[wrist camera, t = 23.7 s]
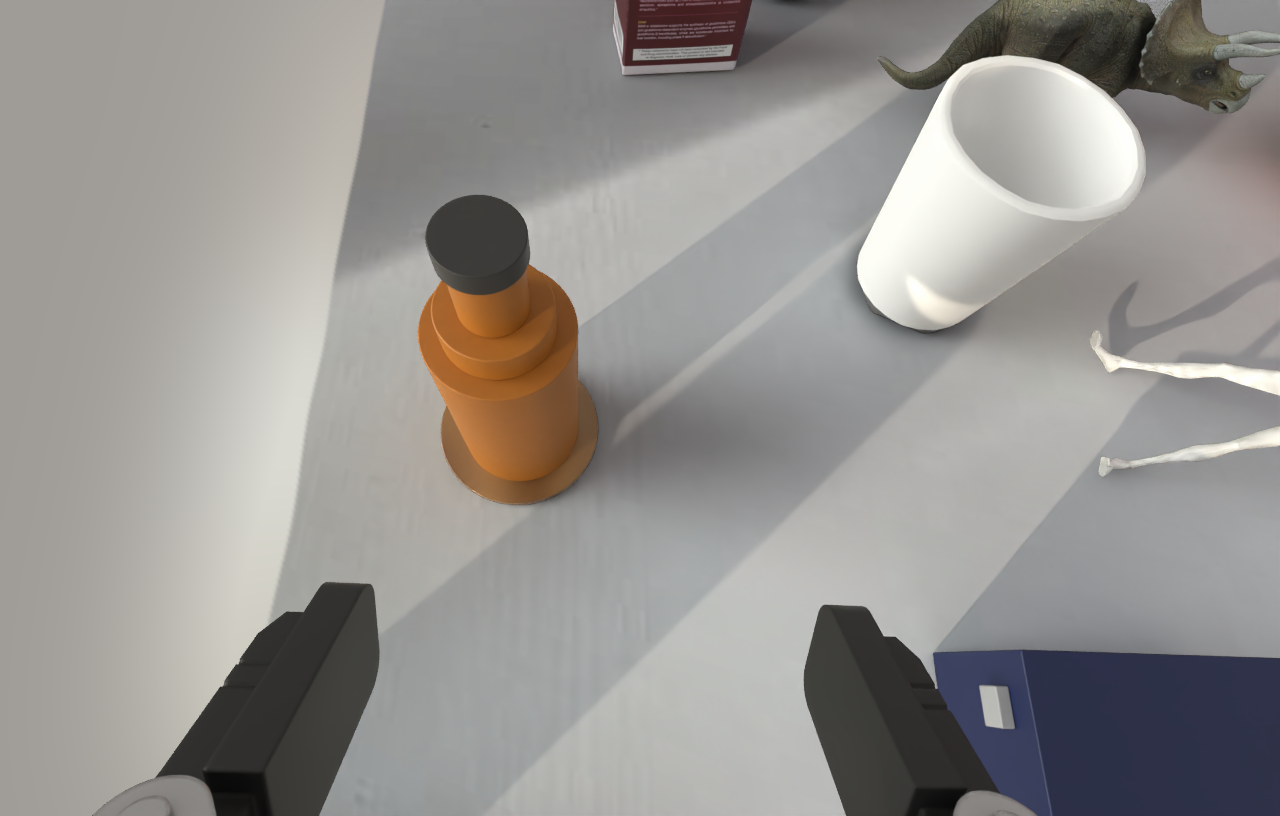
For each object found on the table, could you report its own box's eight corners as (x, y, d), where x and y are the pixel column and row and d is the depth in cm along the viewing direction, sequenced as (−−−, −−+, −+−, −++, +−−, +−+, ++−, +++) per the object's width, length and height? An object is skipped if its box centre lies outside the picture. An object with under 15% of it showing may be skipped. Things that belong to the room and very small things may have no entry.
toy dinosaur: (852, 115, 46) (933, -46, 35) (865, 37, 49) (943, -131, 39) (1148, 195, 46) (1317, 56, 35) (1142, 111, 49) (1295, -38, 38)
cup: (966, 378, 38) (1138, 253, 27) (814, 316, 39) (916, 167, 27) (996, 255, 42) (1158, 98, 30) (857, 200, 43) (963, 25, 31)
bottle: (493, 501, 33) (417, 355, 17) (448, 404, 34) (342, 193, 19) (597, 451, 34) (612, 276, 19) (548, 361, 36) (527, 132, 21)
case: (951, 891, 28) (1061, 958, 22) (920, 652, 32) (1006, 649, 26) (1277, 892, 30) (1472, 955, 23) (1210, 661, 33) (1362, 660, 27)
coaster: (479, 533, 32) (478, 531, 32) (418, 397, 35) (416, 394, 34) (624, 462, 35) (625, 459, 34) (557, 338, 37) (557, 335, 37)
